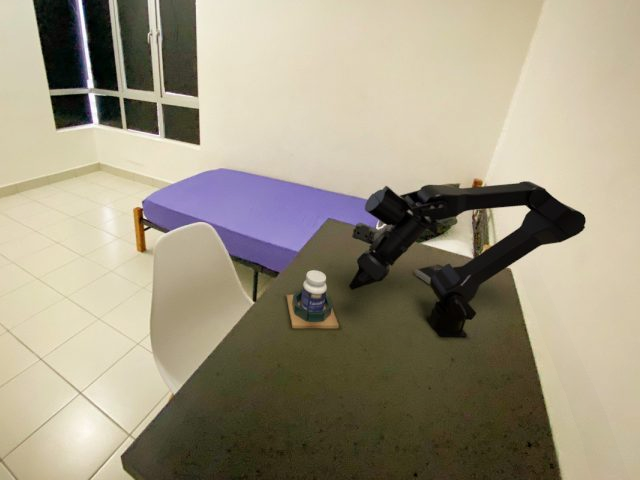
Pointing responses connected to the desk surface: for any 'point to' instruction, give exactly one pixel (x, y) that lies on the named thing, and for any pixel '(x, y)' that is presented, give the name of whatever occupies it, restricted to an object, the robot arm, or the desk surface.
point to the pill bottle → (314, 291)
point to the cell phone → (427, 272)
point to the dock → (310, 314)
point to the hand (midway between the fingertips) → (355, 282)
